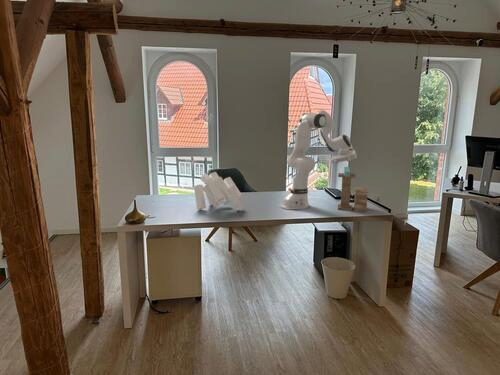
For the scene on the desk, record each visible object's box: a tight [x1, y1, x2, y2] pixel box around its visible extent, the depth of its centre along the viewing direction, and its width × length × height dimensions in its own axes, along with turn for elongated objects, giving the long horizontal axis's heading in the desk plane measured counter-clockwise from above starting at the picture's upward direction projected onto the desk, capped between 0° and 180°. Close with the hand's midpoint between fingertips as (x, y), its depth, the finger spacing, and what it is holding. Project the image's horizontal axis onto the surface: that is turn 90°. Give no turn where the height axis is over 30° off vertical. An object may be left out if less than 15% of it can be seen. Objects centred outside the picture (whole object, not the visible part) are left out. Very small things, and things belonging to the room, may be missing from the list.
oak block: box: [353, 187, 369, 213], centre depth 259 cm, size 12×8×15 cm, turn 166°
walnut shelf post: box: [337, 172, 356, 211], centre depth 260 cm, size 10×12×26 cm
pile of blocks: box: [193, 171, 244, 212], centre depth 263 cm, size 35×30×35 cm
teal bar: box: [343, 166, 351, 177], centre depth 259 cm, size 22×4×4 cm, turn 166°
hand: (341, 161), depth 271 cm, fingers open, 8 cm apart
